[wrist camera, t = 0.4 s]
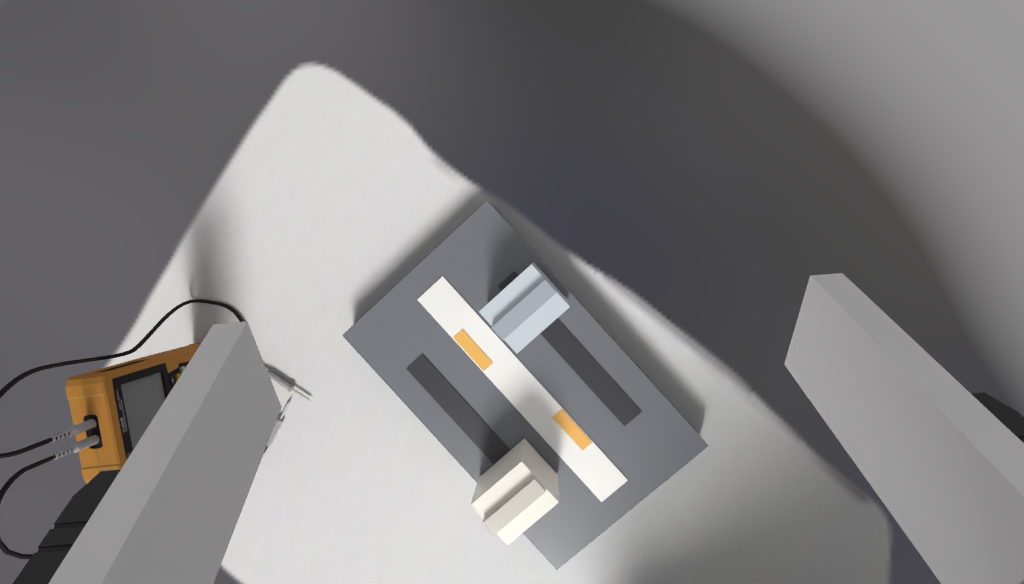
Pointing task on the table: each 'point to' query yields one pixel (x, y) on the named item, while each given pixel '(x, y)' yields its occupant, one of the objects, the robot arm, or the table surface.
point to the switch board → (524, 385)
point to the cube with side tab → (525, 308)
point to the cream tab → (515, 492)
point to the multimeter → (117, 407)
